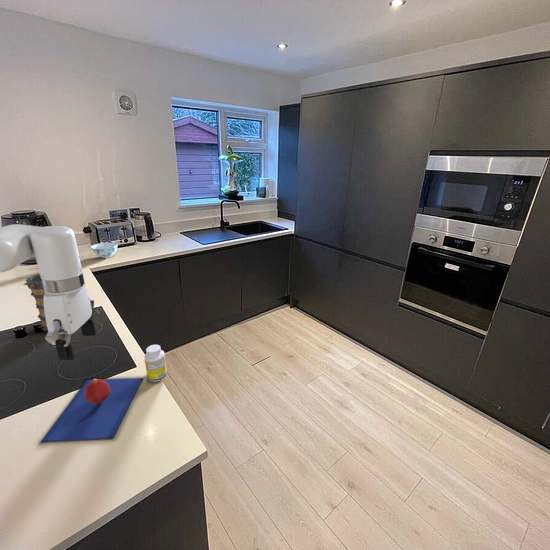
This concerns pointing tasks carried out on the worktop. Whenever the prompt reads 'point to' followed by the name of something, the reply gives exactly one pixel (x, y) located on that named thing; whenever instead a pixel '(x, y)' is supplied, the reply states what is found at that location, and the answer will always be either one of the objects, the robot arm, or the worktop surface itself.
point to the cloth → (95, 413)
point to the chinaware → (105, 249)
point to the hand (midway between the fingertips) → (79, 346)
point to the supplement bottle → (155, 363)
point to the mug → (38, 297)
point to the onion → (97, 391)
